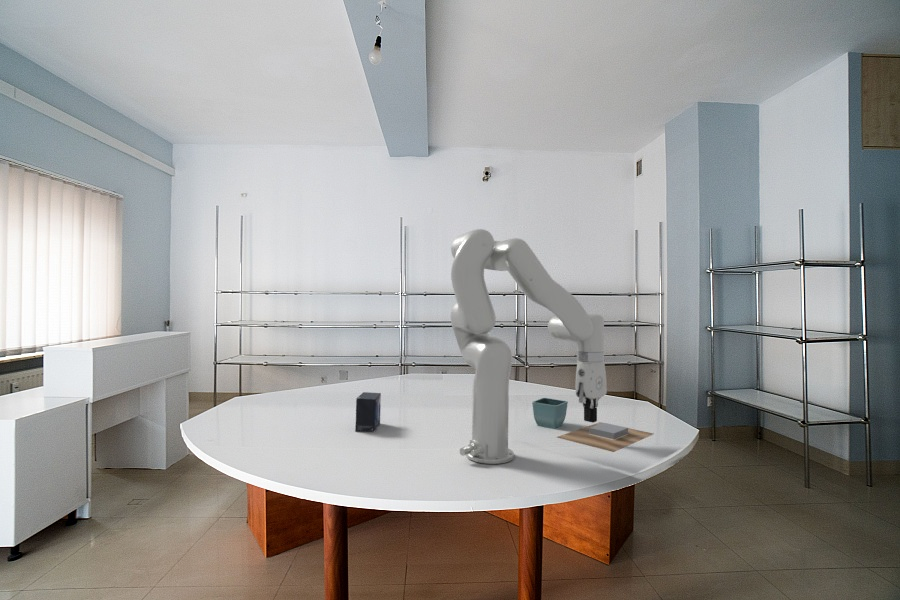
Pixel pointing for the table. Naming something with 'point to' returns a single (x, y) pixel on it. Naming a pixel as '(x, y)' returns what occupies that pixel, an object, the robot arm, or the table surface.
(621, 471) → the table surface
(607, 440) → the board
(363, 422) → the small box
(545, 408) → the flower pot
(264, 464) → the table surface
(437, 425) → the table surface
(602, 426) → the tile
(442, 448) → the table surface
